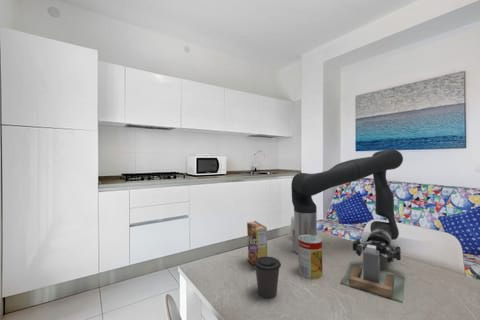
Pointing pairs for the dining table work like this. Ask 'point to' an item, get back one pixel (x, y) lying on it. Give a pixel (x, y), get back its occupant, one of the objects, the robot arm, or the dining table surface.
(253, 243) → the candy box
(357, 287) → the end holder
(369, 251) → the connector plug
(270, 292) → the coffee cup
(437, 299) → the dining table surface
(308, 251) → the canned food
